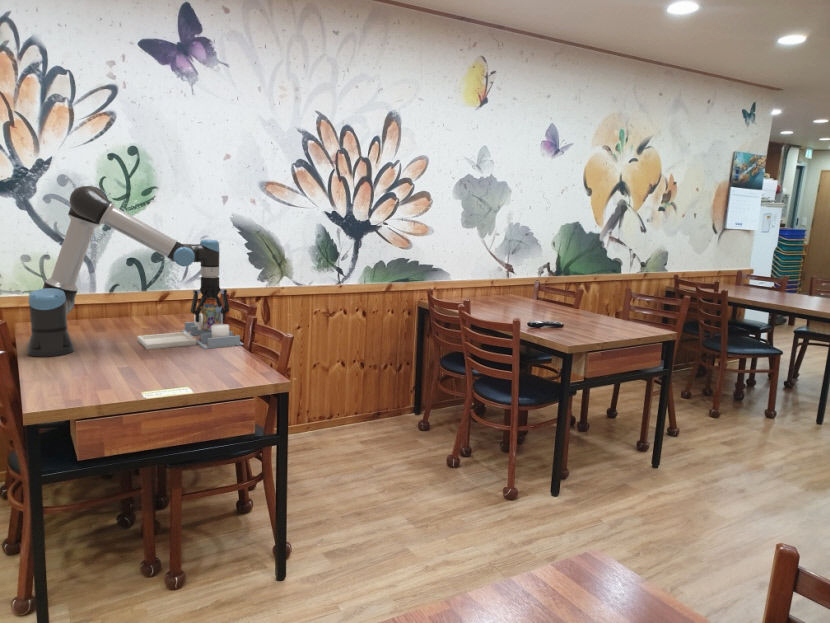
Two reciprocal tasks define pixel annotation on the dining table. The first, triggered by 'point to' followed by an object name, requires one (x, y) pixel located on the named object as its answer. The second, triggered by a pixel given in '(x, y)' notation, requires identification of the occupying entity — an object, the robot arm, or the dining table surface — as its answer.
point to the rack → (207, 337)
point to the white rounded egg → (219, 330)
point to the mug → (210, 316)
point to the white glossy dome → (197, 322)
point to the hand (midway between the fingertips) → (210, 328)
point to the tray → (166, 340)
